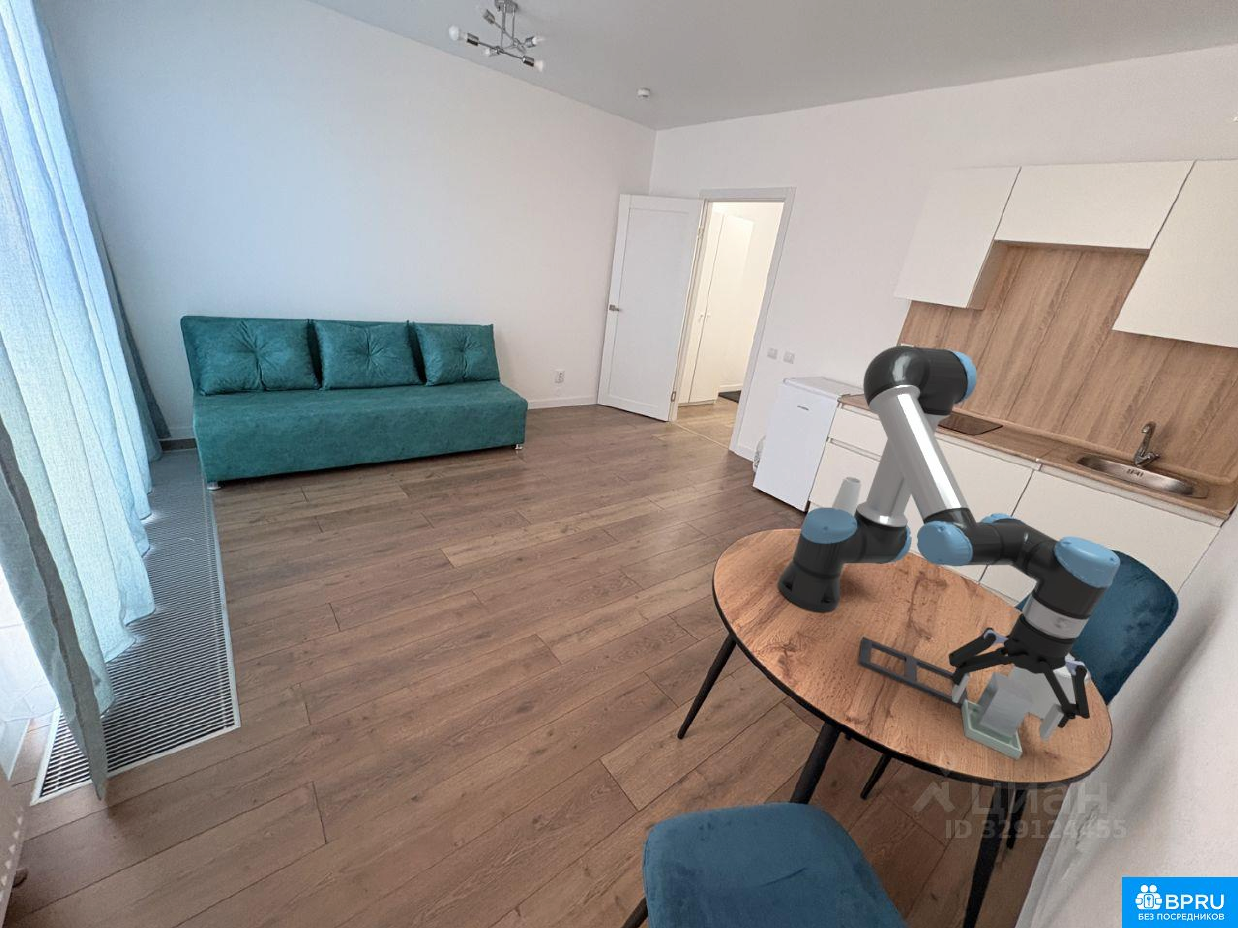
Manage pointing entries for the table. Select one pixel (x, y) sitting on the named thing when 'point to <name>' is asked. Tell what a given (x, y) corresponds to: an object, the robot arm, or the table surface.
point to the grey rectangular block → (1002, 707)
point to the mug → (1046, 687)
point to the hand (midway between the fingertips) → (996, 715)
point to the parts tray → (1008, 749)
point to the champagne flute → (848, 495)
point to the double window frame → (907, 670)
